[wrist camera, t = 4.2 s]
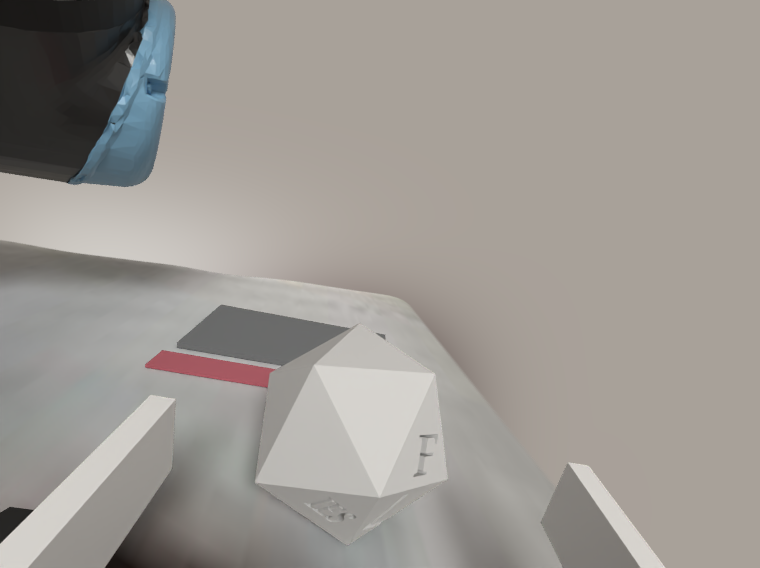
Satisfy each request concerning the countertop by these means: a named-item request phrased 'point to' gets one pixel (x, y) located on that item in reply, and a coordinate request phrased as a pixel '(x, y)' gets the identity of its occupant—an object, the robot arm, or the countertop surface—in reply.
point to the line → (210, 368)
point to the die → (351, 434)
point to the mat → (257, 335)
